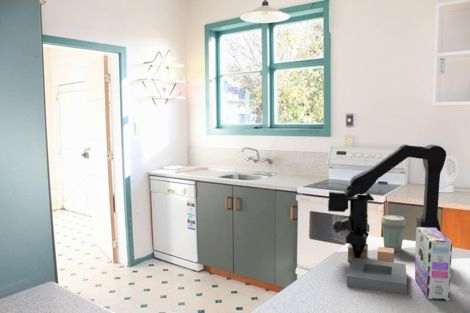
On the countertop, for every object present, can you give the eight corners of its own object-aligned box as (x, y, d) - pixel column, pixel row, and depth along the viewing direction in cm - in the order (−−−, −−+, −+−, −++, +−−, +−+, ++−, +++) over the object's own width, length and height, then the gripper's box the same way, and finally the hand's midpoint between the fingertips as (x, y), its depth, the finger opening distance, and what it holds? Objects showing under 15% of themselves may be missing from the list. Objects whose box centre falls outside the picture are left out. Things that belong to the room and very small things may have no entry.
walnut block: (367, 257, 136) (367, 244, 135) (366, 263, 130) (366, 249, 130) (349, 255, 138) (350, 242, 137) (347, 261, 132) (348, 247, 132)
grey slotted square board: (405, 273, 122) (405, 263, 121) (406, 294, 107) (406, 284, 107) (352, 266, 128) (352, 257, 128) (346, 285, 113) (346, 275, 113)
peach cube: (393, 262, 131) (394, 248, 130) (393, 268, 126) (393, 253, 126) (377, 260, 133) (378, 246, 132) (377, 266, 128) (377, 251, 128)
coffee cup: (402, 254, 138) (403, 221, 137) (378, 250, 143) (378, 218, 142) (407, 247, 146) (407, 216, 144) (383, 243, 150) (384, 213, 149)
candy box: (450, 301, 103) (453, 241, 101) (426, 299, 104) (428, 240, 102) (434, 280, 116) (436, 226, 115) (413, 279, 117) (415, 226, 116)
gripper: (338, 205, 144) (337, 245, 146) (330, 216, 127) (329, 263, 128) (370, 207, 140) (369, 249, 141) (366, 219, 123) (365, 267, 124)
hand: (357, 256), depth 134 cm, fingers closed on walnut block, 6 cm apart
